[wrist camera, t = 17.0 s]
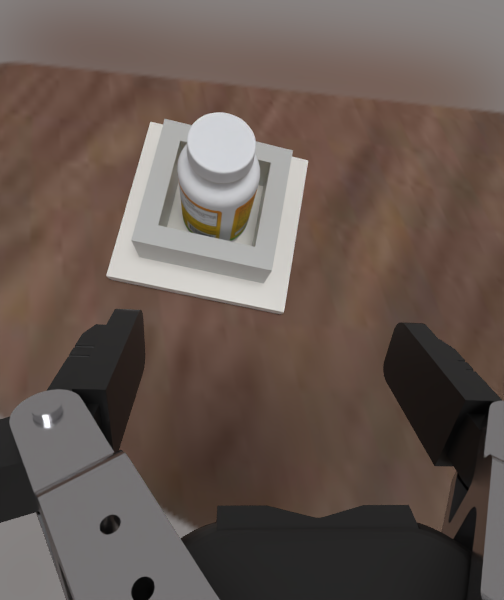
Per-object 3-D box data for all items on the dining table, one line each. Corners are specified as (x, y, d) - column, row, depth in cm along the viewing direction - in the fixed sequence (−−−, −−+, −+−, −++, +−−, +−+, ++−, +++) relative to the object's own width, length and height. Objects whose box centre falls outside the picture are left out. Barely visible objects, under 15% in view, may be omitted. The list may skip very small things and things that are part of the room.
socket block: (305, 167, 34) (320, 135, 29) (281, 314, 30) (294, 303, 26) (152, 129, 32) (144, 90, 28) (109, 279, 29) (93, 261, 25)
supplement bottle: (239, 181, 31) (255, 95, 22) (255, 240, 30) (279, 176, 21) (176, 191, 30) (165, 106, 21) (190, 252, 29) (185, 191, 20)
